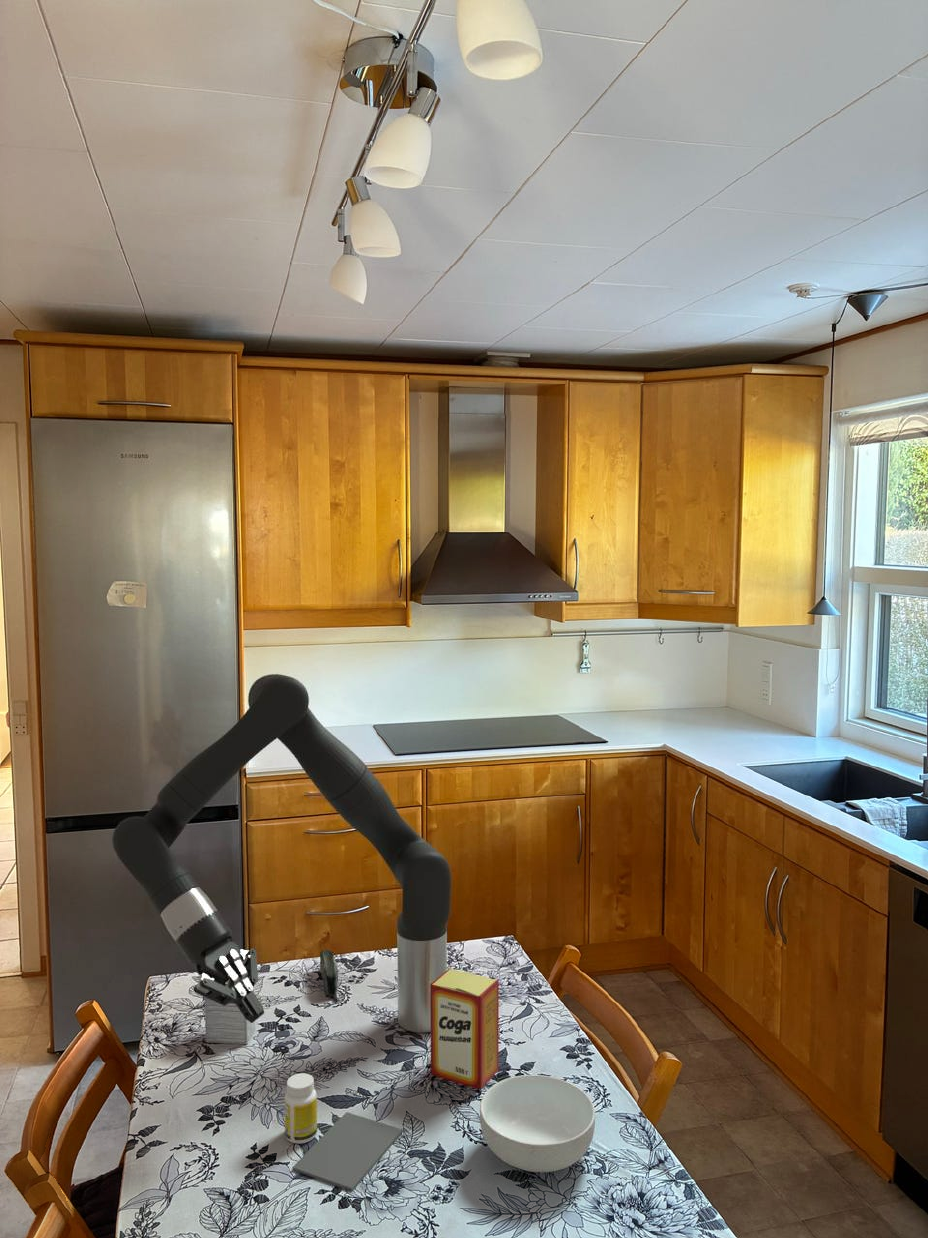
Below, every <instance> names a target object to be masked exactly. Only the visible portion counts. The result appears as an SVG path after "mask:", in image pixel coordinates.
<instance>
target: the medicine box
mask: <svg viewBox="0 0 928 1238" xmlns="http://www.w3.org/2000/svg"><path fill="white" fill-rule="evenodd" d="M232 989H233V990H234V988H232ZM234 991H235V990H234ZM253 992H254V993H255V987H253ZM223 996H224V995H223ZM204 1025H205V1026H204V1027H205V1028H204V1030H205V1042H206V1043H216V1044H238V1045H239V1044H240V1045H244V1044H245V1045H248V1044H249V1042H250V1041H251V1039H252V1038H253V1036H254V1035H255V1033H256V1020H255V1021H254V1022H253V1023H251V1022H249V1021H248V1020H247V1019H245V1017H244V1015H243V1014H242V1013H241V1011H240V1010H239V1008H238V1006H237V1005H236V1004H233V1003H230V1004H227V1005H226V1006H224V1005H221V1004H219V1003H217V1002H215V1001H213V1000H210V999H208V998H206V997H204Z"/></svg>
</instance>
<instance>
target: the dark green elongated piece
mask: <svg viewBox="0 0 928 1238" xmlns="http://www.w3.org/2000/svg"><path fill="white" fill-rule="evenodd" d="M319 955H320V956H319V957H320V958H319V959H320V960H319V961H320V964H319V965H320V966H319V967H320V972H321V978H322V986H323V987H322V989H323V991H324V994H325V995H326V996H329V997H333V999H334V1001H335V1002H338V1001H339V997H338V989H339V988H338V984H339V970H338V965H337V962H336V960H335V956H334V953H333V951H331V950H329V949H323V950H320V953H319Z"/></svg>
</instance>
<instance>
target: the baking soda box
mask: <svg viewBox="0 0 928 1238" xmlns="http://www.w3.org/2000/svg"><path fill="white" fill-rule="evenodd" d="M499 983H500V981H499V980H498V979H494V978H490V977H485V976H483V975H477V974H473V973H469V972H466V971H463V970H462V971H461V970H458V969H453V968H447V971H446V972H445V973H443V974H442V975H441V976H440V977H438V978H437V979H436V980H435V981H434V982H432V983H431V984H430V1014H431V1032H430V1076H434V1077H437V1078H440V1079H444V1080H447V1081H450V1082H452V1083H453V1082H454V1083H456V1084H459V1085H463V1086H466V1085H467V1086H466V1087H469V1086H470V1087H469V1088H472V1087H474V1088H473V1089H475V1088H477V1089H476V1090H479V1089H480V1090H479V1091H482V1090H483V1089H484V1088H485V1086H486V1085H487V1084H488V1083H489V1081H491V1079H492V1078H493V1077H494V1076H495V1075H496V1074H497V1072H499V1065H500V1064H499V1047H500V1045H499V1040H500V1039H499V1029H500V1028H499V1026H500V1025H499V1022H500V1021H499V1017H500V1016H499V1010H500V1009H499V1006H500V1005H499V1001H500V1000H499V998H500V997H499V988H500V987H499ZM487 1082H488V1083H487ZM486 1083H487V1084H486ZM485 1084H486V1085H485ZM484 1085H485V1086H484ZM481 1089H482V1090H481Z"/></svg>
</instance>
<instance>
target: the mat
mask: <svg viewBox="0 0 928 1238" xmlns="http://www.w3.org/2000/svg"><path fill="white" fill-rule="evenodd" d="M403 1130H404V1129H403V1128H400V1127H399V1128H398V1127H395V1126H393V1125H389V1124H386V1123H383V1122H380V1121H377V1120H373V1119H371V1118H367V1117H364V1116H361V1115H357V1114H354V1113H350V1112H349V1111H347V1112H345V1113H344V1114H343V1115H342V1116H341V1117H340V1118H339V1119H338V1120H337V1121H336V1122H335V1123H334V1124H333V1125H332V1126H331V1127H330V1128H329V1129H328V1131H326V1132H325V1133H324V1135H322V1137H320V1139H319V1140H318V1141H317V1142H316V1143H315V1144H314V1145H312V1146H311V1148H310V1149H309V1150H308V1151H307V1152H306V1153H305V1154H304V1155H303V1156H302V1157H301V1158H299V1160H298V1161H297V1162H295V1164H294V1165H293V1166H292V1168H291V1169H292V1170H293V1171H294V1172H297V1173H300V1174H303V1175H306V1176H309V1177H311V1178H314V1179H317V1180H319V1181H322V1182H325V1183H329V1184H330V1185H333V1186H336V1187H338V1188H339V1187H340V1188H343V1189H345V1190H348V1191H350V1192H353V1191H354V1190H355V1189H356V1187H358V1186H359V1184H360V1183H361V1182H362V1181H363V1180H364V1178H365V1177H366V1176H367V1175H368V1174H369V1172H370V1171H372V1169H373V1168H374V1166H376V1164H377V1162H379V1160H381V1158H382V1157H383V1156H384V1155H385V1154H386V1152H387V1151H388V1150H389V1149H390V1148H391V1146H393V1144H394V1143H395V1142H396V1141H397V1140H398V1138H399V1137H400V1136H401V1135H402V1133H403V1132H404V1131H403Z"/></svg>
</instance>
